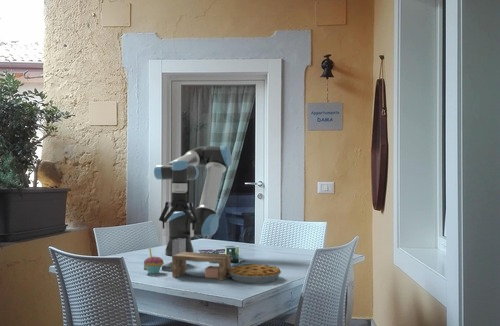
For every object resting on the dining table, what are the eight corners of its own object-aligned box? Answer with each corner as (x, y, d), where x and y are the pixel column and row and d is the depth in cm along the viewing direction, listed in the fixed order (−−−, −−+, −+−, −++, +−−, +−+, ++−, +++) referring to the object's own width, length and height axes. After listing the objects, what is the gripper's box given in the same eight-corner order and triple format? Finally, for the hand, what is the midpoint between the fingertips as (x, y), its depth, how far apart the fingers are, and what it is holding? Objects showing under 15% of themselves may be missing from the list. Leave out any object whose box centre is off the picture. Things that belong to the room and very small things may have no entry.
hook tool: (178, 262, 260) (179, 238, 261) (195, 263, 258) (195, 238, 258) (160, 270, 240) (160, 243, 240) (177, 271, 238) (178, 244, 238)
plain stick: (153, 265, 254) (153, 260, 254) (158, 265, 253) (158, 260, 253) (143, 270, 242) (143, 264, 242) (149, 270, 241) (149, 264, 241)
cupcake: (144, 275, 229) (144, 247, 230) (143, 271, 238) (143, 244, 238) (164, 274, 232) (164, 246, 232) (162, 270, 240) (162, 243, 240)
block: (209, 275, 231) (209, 265, 232) (222, 275, 230) (222, 266, 230) (205, 277, 226) (205, 268, 226) (218, 278, 224) (218, 269, 224)
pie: (251, 271, 239) (251, 260, 239) (291, 278, 225) (291, 266, 225) (218, 279, 222) (218, 267, 222) (259, 287, 208) (259, 274, 208)
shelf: (182, 272, 236) (182, 251, 236) (230, 275, 230) (230, 254, 230) (172, 276, 226) (172, 255, 226) (222, 280, 219) (222, 258, 219)
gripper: (152, 191, 256) (151, 235, 256) (200, 193, 249) (200, 238, 249) (159, 191, 264) (158, 234, 263) (206, 192, 257) (205, 236, 256)
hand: (178, 236), depth 256 cm, fingers open, 13 cm apart
